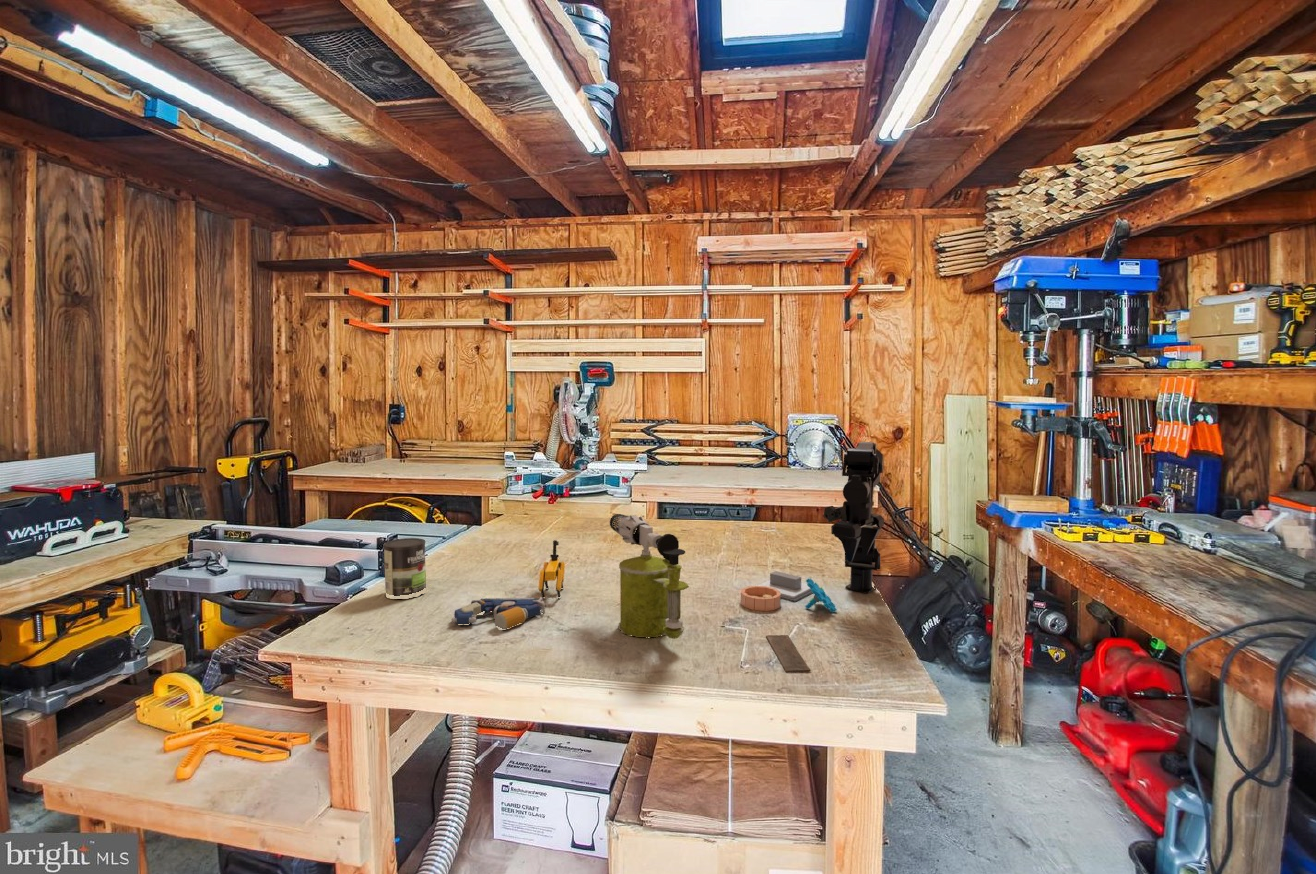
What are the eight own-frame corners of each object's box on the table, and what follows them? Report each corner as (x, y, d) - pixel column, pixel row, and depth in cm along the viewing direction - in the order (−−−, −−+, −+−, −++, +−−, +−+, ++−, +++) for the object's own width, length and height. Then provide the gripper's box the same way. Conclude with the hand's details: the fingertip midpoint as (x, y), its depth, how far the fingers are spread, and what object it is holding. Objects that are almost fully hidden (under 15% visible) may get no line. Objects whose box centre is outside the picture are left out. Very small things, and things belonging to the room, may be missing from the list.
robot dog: (567, 581, 167) (567, 535, 166) (560, 603, 149) (560, 552, 148) (547, 581, 167) (547, 536, 166) (538, 604, 149) (537, 553, 148)
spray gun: (535, 633, 131) (549, 610, 146) (534, 614, 131) (549, 593, 146) (444, 634, 132) (467, 611, 147) (443, 616, 131) (467, 594, 146)
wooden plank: (765, 634, 129) (788, 632, 129) (766, 639, 129) (788, 637, 129) (786, 671, 112) (811, 668, 112) (786, 677, 112) (811, 675, 113)
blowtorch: (653, 661, 117) (653, 539, 115) (594, 608, 146) (593, 510, 144) (708, 648, 123) (709, 532, 121) (640, 600, 152) (640, 505, 150)
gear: (837, 613, 139) (808, 580, 142) (819, 628, 140) (790, 595, 143) (839, 603, 149) (812, 573, 152) (822, 618, 150) (795, 587, 153)
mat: (776, 578, 170) (776, 577, 170) (820, 589, 161) (820, 587, 161) (749, 589, 160) (749, 588, 160) (795, 602, 151) (795, 600, 151)
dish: (755, 594, 157) (755, 583, 156) (787, 603, 150) (788, 591, 150) (733, 603, 149) (733, 592, 149) (766, 613, 142) (766, 601, 142)
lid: (777, 578, 169) (778, 566, 169) (815, 587, 161) (815, 575, 161) (754, 588, 160) (755, 575, 160) (793, 598, 152) (794, 585, 152)
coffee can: (434, 589, 160) (433, 539, 159) (407, 602, 150) (406, 548, 149) (404, 585, 163) (403, 536, 162) (376, 597, 153) (374, 545, 152)
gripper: (845, 489, 160) (843, 545, 161) (812, 498, 146) (811, 559, 148) (885, 494, 153) (883, 552, 154) (854, 504, 139) (853, 568, 140)
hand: (857, 557), depth 149 cm, fingers open, 9 cm apart
